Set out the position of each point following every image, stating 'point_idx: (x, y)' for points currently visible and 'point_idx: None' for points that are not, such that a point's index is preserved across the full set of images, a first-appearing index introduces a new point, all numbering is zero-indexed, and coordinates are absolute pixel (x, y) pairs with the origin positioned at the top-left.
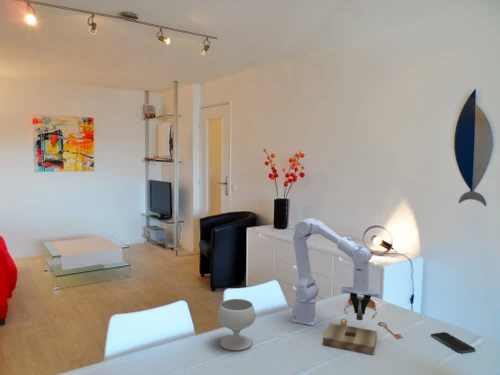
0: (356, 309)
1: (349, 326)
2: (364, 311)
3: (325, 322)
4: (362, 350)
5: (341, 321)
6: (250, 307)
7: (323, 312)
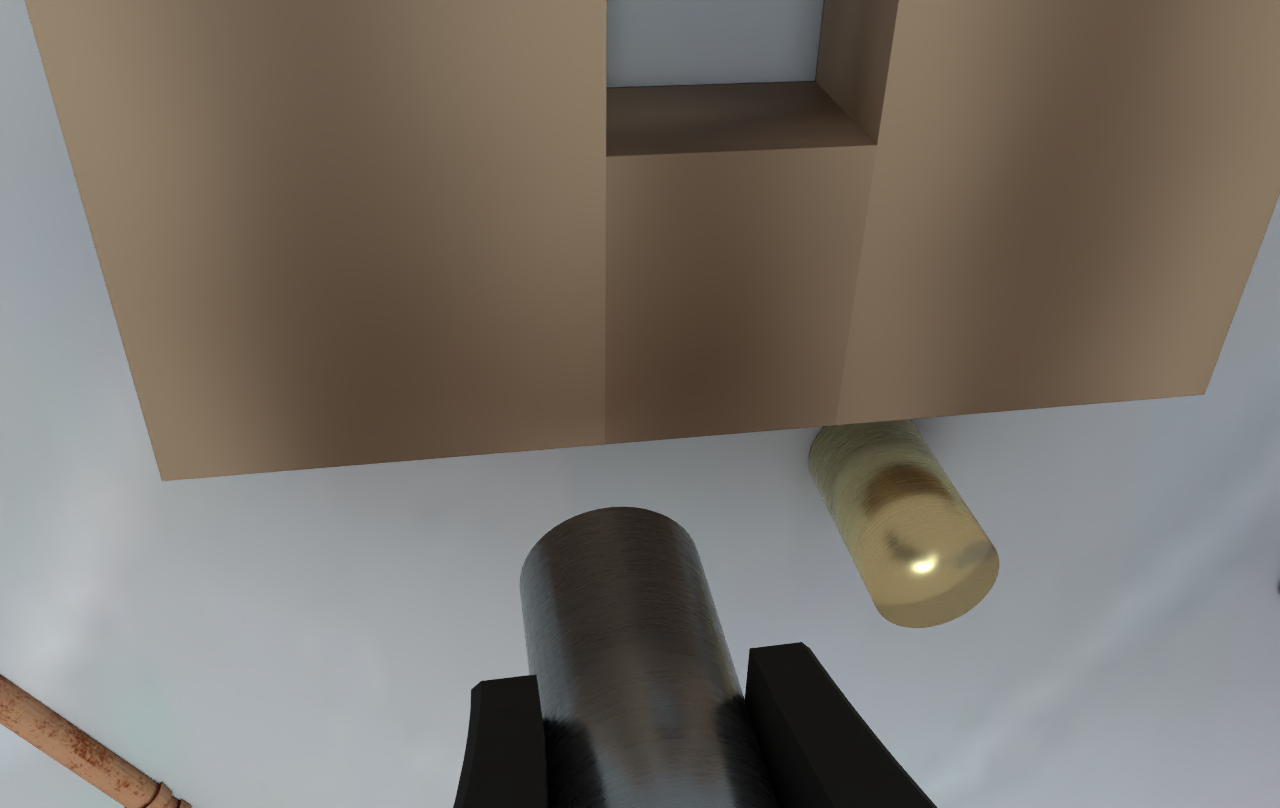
0: (787, 778)
1: (798, 423)
2: (473, 771)
3: (1161, 552)
4: None
5: (979, 527)
6: None
7: (1151, 803)
